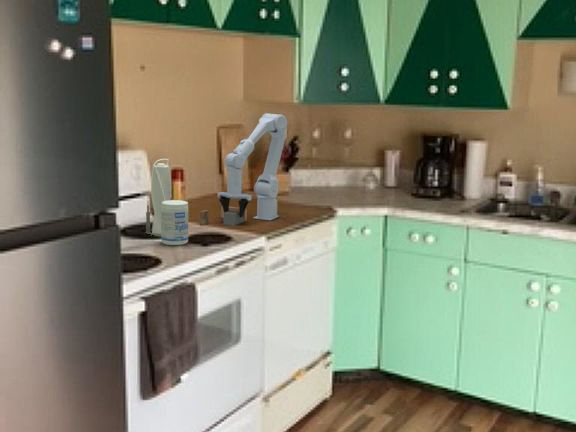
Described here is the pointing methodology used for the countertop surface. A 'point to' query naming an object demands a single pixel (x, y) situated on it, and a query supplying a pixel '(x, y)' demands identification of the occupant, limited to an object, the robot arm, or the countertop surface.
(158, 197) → the skyscraper
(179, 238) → the supplement tub
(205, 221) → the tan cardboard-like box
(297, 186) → the countertop surface
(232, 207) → the door
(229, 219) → the block
